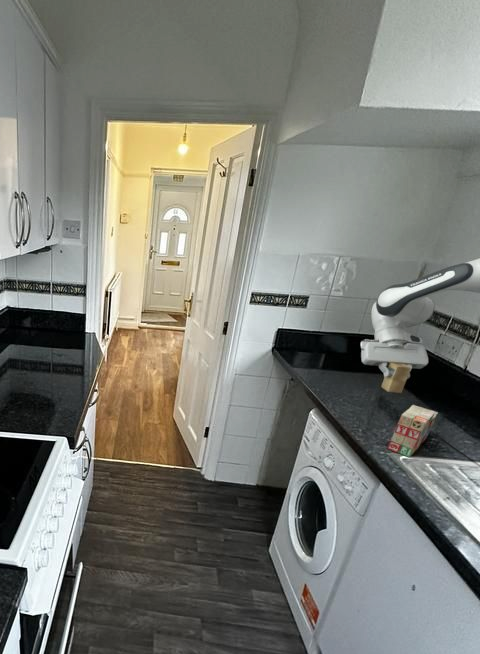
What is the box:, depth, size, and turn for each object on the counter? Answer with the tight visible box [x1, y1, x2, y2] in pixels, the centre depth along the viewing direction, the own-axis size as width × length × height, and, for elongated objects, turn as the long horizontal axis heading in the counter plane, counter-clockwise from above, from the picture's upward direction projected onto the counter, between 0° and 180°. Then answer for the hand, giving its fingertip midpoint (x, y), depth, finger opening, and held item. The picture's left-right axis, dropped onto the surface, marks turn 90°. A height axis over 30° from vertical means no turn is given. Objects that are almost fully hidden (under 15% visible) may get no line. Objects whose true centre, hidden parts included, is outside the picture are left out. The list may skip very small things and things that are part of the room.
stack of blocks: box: [386, 404, 439, 458], centre depth 132 cm, size 21×6×12 cm, turn 131°
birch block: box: [380, 363, 412, 394], centre depth 139 cm, size 4×4×9 cm
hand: (397, 377), depth 138 cm, fingers closed on birch block, 4 cm apart
